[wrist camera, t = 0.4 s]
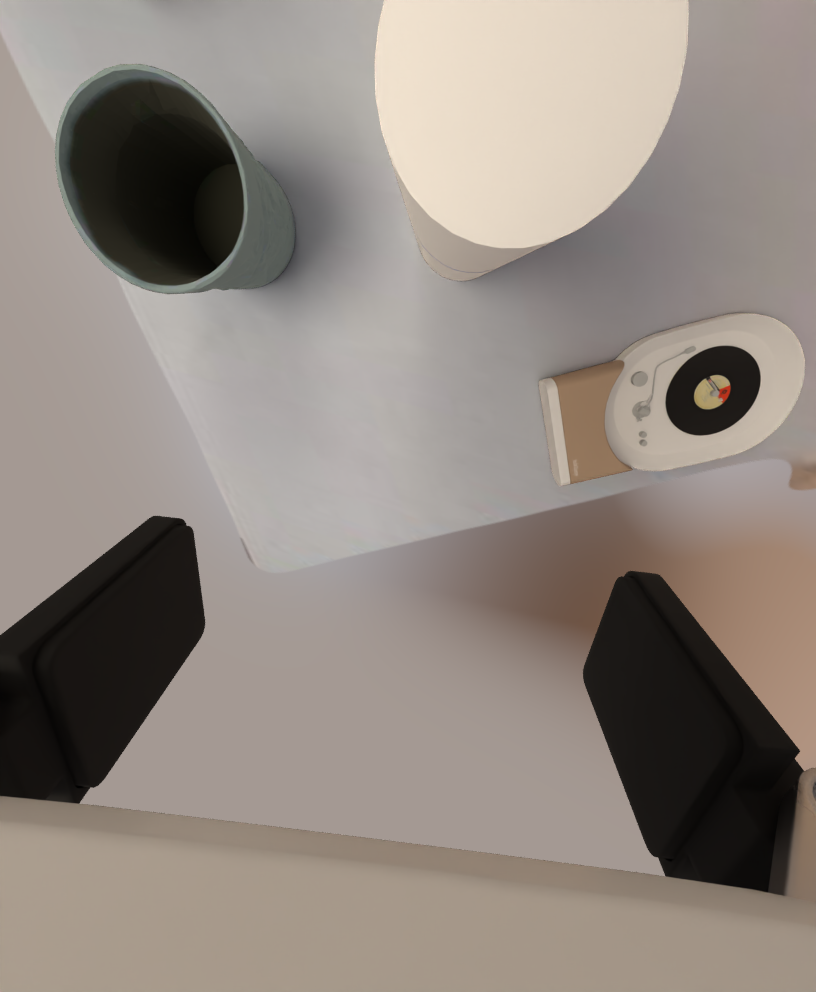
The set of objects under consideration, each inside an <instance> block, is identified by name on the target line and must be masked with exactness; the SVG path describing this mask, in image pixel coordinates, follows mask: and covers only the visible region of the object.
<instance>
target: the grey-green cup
mask: <svg viewBox="0 0 816 992" xmlns="http://www.w3.org/2000/svg"><path fill="white" fill-rule="evenodd" d="M55 159H56V172H57V177H58V184H59V188H60V191H61V194H62V198H63V201H64V204H65V207H66V209H67V211H68V214H69V216H70V218H71V220H72V222H73V224H74V226H75V228H76V229H77V231H78V233H79V234H80V236H81V237H82V239H83V240H84V242H85V243H86V245H87V246H88V247H89V249H90V250H91V251H92V252H93V253H94V254H95V255H96V256H97V257H98V258H99V260H101V262H102V263H103V264H104V265H105V266H107V267H108V268H109V269H110V270H112V271H113V272H114V273H115V274H117V275H118V276H120V277H121V278H123V279H125V280H126V281H128V282H130V283H131V284H134V285H136V286H138V287H141V288H143V289H146V290H149V291H152V292H157V293H164V294H184V293H196V292H204V291H208V290H211V289H220V290H228V289H249V288H257V287H261V286H264V285H266V284H268V283H270V282H272V281H273V280H275V279H276V278H277V277H278V276H279V275H280V274H281V273H282V272H283V271H284V269H285V268H286V266H287V265H288V263H289V261H290V259H291V256H292V253H293V249H294V244H295V222H294V217H293V213H292V209H291V207H290V204H289V201H288V199H287V197H286V195H285V193H284V192H283V190H282V188H281V187H280V185H279V184H278V183H277V181H276V180H275V179H274V178H273V177H272V175H271V174H270V173H269V172H268V171H267V170H266V169H265V168H264V167H263V165H262V164H261V163H260V162H259V161H256V160H255V159H254V157H253V155H252V154H251V152H250V151H249V150H248V149H247V147H246V146H245V145H244V143H243V141H242V140H241V139H240V138H239V137H238V136H237V135H236V134H235V133H234V131H233V130H232V129H231V128H230V126H229V125H228V124H227V123H226V121H225V120H224V119H223V118H222V116H221V115H220V114H219V113H218V111H217V110H216V109H215V108H214V106H213V105H212V104H211V103H210V102H209V101H208V100H207V99H206V98H205V97H204V96H203V95H202V94H201V93H200V92H199V91H198V90H197V89H195V88H194V87H193V86H191V85H190V84H189V83H187V82H186V81H185V80H183V79H181V78H179V77H177V76H175V75H173V74H172V73H169V72H167V71H164V70H161V69H158V68H155V67H152V66H148V65H143V64H120V65H116V66H113V67H109V68H106V69H104V70H102V71H101V72H99V73H98V74H96V75H94V76H93V77H91V78H90V79H88V80H87V81H85V82H84V83H82V84H81V85H80V86H79V87H78V89H77V90H76V91H75V93H74V94H73V95H72V97H71V98H70V99H69V100H68V102H67V104H66V106H65V109H64V111H63V113H62V115H61V118H60V122H59V126H58V130H57V134H56V146H55Z"/></svg>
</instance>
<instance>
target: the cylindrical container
mask: <svg viewBox="0 0 816 992" xmlns="http://www.w3.org/2000/svg"><path fill="white" fill-rule="evenodd" d="M688 19H689V3H688V0H384V4H383V8H382V12H381V16H380V20H379V24H378V33H377V43H376V52H375V93H376V102H377V108H378V113H379V119H380V124H381V130H382V134H383V137H384V140H385V143H386V147H387V150H388V153H389V156H390V159H391V162H392V165H393V168H394V172H395V175H396V178H397V181H398V184H399V187H400V190H401V193H402V196H403V200H404V203H405V206H406V209H407V212H408V215H409V218H410V221H411V224H412V227H413V230H414V233H415V237H416V240H417V243H418V246H419V248H420V251H421V254H422V256H423V258H424V259H425V261H426V263H427V264H428V265H429V266H430V267H431V268H432V269H433V271H435V272H436V273H438V274H439V275H440V276H442V277H445V278H447V279H450V280H455V281H467V280H472V279H475V278H477V277H480V276H482V275H484V274H486V273H488V272H490V271H493V270H495V269H497V268H499V267H501V266H503V265H505V264H507V263H509V262H511V261H514V260H516V259H518V258H520V257H522V256H524V255H526V254H528V253H530V252H532V251H535V250H537V249H539V248H541V247H543V246H545V245H547V244H549V243H551V242H553V241H555V240H558V239H560V238H562V237H564V236H566V235H568V234H570V233H572V232H574V231H576V230H578V229H580V228H581V227H583V226H584V225H585V224H587V223H588V222H590V221H591V220H592V219H594V218H595V217H597V216H598V215H599V214H601V213H602V212H604V211H605V210H606V209H607V208H608V207H609V206H610V205H611V204H612V203H613V202H614V201H615V200H616V199H617V198H618V197H619V196H620V195H621V194H622V193H623V192H624V191H625V190H626V189H627V188H628V187H629V186H630V184H631V183H632V181H633V180H634V179H635V177H636V176H637V174H638V173H639V171H640V170H641V169H642V167H643V166H644V164H645V163H646V161H647V160H648V159H649V157H650V156H651V154H652V152H653V150H654V148H655V146H656V144H657V142H658V140H659V138H660V136H661V134H662V132H663V130H664V128H665V126H666V124H667V122H668V120H669V117H670V114H671V111H672V108H673V105H674V102H675V99H676V96H677V93H678V90H679V87H680V83H681V78H682V72H683V67H684V62H685V57H686V52H687V40H688Z"/></svg>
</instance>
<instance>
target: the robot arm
mask: <svg viewBox="0 0 816 992" xmlns="http://www.w3.org/2000/svg"><path fill="white" fill-rule="evenodd" d="M196 556H197V555H196V548H195V540H194V533H193V530H192V528H191V527H190V526H186V523H185V521H184V520H183V519H180V518H171V517H162V516H153V517H151V518H149V519H148V520H147V521H145V522H144V523H143V524H142V525H141V526H139V527H138V528H137V529H135V530H134V531H133V532H132V533H130V534H129V535H128V536H126V537H125V538H124V539H122V540H121V541H120V542H119V543H118V544H116V545H115V546H114V547H112V548H111V549H110V550H109V551H107V552H106V553H105V554H103V555H102V556H101V557H100V558H98V559H97V560H96V561H95V562H93V563H92V564H91V565H89V566H88V567H87V568H86V569H84V570H83V571H82V572H80V573H79V574H78V575H77V576H75V577H74V578H73V579H72V580H70V581H69V582H68V583H66V584H65V585H64V586H63V587H61V588H60V589H59V590H57V591H56V592H55V593H54V594H53V595H51V596H50V597H49V598H47V599H46V600H45V601H43V602H42V603H41V604H40V605H38V606H37V607H36V608H34V609H33V610H32V611H31V612H29V613H28V614H27V615H26V616H24V617H23V618H22V619H21V620H19V621H18V622H17V623H15V624H14V625H13V626H12V627H10V628H9V629H8V630H6V631H5V632H4V633H3V634H1V635H0V992H816V768H811V769H808V770H806V771H804V770H803V769H802V768H801V766H800V765H799V764H798V762H796V760H795V757H796V756H797V754H798V753H799V752H800V751H799V749H798V748H797V746H796V745H795V744H794V743H793V741H792V740H791V739H790V738H789V736H788V735H787V734H786V733H785V731H784V730H783V729H782V728H781V726H780V725H779V724H778V722H777V721H776V720H775V719H774V718H773V716H772V715H771V714H770V712H769V711H768V710H767V709H766V707H765V706H764V705H763V704H762V702H761V701H760V700H759V699H758V697H757V696H756V695H755V694H754V692H753V691H752V690H751V689H750V687H749V686H748V685H747V684H746V682H745V681H744V680H743V679H742V677H741V676H740V675H739V674H738V672H737V671H736V670H735V668H734V667H733V666H732V665H731V663H730V662H729V661H728V660H727V658H726V657H725V656H724V655H723V653H722V652H721V651H720V650H719V649H718V647H717V646H716V645H715V643H714V642H713V641H712V640H711V639H710V637H709V636H708V635H707V633H706V632H705V631H704V630H703V628H702V627H701V626H700V625H699V623H698V622H697V621H696V619H695V618H694V617H693V616H692V614H691V613H690V612H689V611H688V610H687V608H686V607H685V606H684V604H683V603H682V602H681V601H680V599H679V598H678V597H677V596H676V594H675V593H674V592H673V591H672V589H671V588H670V587H669V586H668V584H667V583H666V582H665V581H664V579H663V578H662V577H661V576H660V575H658V574H652V573H644V572H635V571H629V572H627V573H626V574H625V576H624V577H619V578H618V579H617V580H616V582H615V584H614V587H613V590H612V592H611V596H610V598H609V600H608V603H607V606H606V609H605V611H604V614H603V617H602V619H601V622H600V625H599V627H598V630H597V633H596V635H595V638H594V641H593V644H592V646H591V649H590V652H589V654H588V657H587V660H586V662H585V665H584V669H583V679H584V683H585V686H586V689H587V692H588V694H589V697H590V700H591V702H592V705H593V707H594V710H595V712H596V715H597V718H598V721H599V723H600V726H601V728H602V731H603V734H604V736H605V739H606V742H607V744H608V747H609V749H610V752H611V755H612V757H613V760H614V763H615V765H616V768H617V770H618V773H619V776H620V778H621V781H622V783H623V786H624V789H625V792H626V794H627V797H628V799H629V802H630V805H631V807H632V810H633V812H634V815H635V818H636V820H637V823H638V825H639V828H640V831H641V833H642V836H643V839H644V841H645V844H646V846H647V848H648V850H649V852H650V853H651V854H652V855H653V856H654V857H658V858H659V861H660V863H661V866H662V868H663V871H664V873H665V876H666V877H665V876H659V875H651V874H645V873H638V872H630V871H623V870H614V869H607V868H599V867H592V866H584V865H576V864H569V863H560V862H553V861H545V860H538V859H530V858H522V857H514V856H507V855H499V854H492V853H483V852H476V851H468V850H460V849H452V848H444V847H436V846H428V845H420V844H412V843H404V842H396V841H388V840H380V839H372V838H364V837H356V836H348V835H339V834H331V833H323V832H315V831H307V830H299V829H291V828H282V827H274V826H266V825H258V824H249V823H241V822H233V821H224V820H215V819H207V818H199V817H190V816H182V815H173V814H165V813H156V812H148V811H139V810H131V809H122V808H114V807H105V806H97V805H86V804H79V803H80V801H81V800H82V799H83V797H84V796H85V794H86V793H87V791H88V790H89V789H90V787H93V788H94V787H96V786H98V785H99V784H100V783H101V782H102V781H103V780H104V779H105V777H106V776H107V774H108V773H109V771H110V770H111V768H112V767H113V766H114V764H115V762H116V761H117V760H118V758H119V757H120V755H121V754H122V752H123V751H124V749H125V748H126V747H127V745H128V743H129V742H130V741H131V739H132V738H133V736H134V735H135V733H136V732H137V730H138V729H139V728H140V726H141V725H142V723H143V722H144V720H145V719H146V717H147V716H148V714H149V713H150V711H151V710H152V708H153V707H154V706H155V704H156V703H157V701H158V700H159V698H160V697H161V695H162V694H163V692H164V691H165V690H166V688H167V687H168V685H169V684H170V682H171V681H172V679H173V678H174V676H175V675H176V673H177V672H178V670H179V669H180V668H181V666H182V665H183V663H184V662H185V660H186V659H187V657H188V656H189V654H190V653H191V651H192V650H193V648H194V647H195V646H196V644H197V643H198V641H199V640H200V638H201V636H202V634H203V632H204V628H205V617H204V609H203V601H202V593H201V586H200V578H199V571H198V563H197V557H196Z"/></svg>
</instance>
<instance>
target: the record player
mask: <svg viewBox="0 0 816 992" xmlns="http://www.w3.org/2000/svg"><path fill="white" fill-rule="evenodd" d="M804 375H805V358H804V353H803V349H802V346H801V344H800V342H799V340H798V338H797V337H796V335H795V334H794V333H793V331H792V330H791V329H790V328H789V327H788V326H786V325H785V324H784V323H782V322H781V321H779V320H777V319H775V318H772V317H769V316H766V315H761V314H748V313H734V314H727V315H722V316H718V317H714V318H710V319H706V320H702V321H698V322H694V323H690V324H687V325H683V326H680V327H676V328H672V329H669V330H665V331H662V332H659V333H656V334H653V335H650V336H647V337H645V338H642V339H640V340H639V341H637V342H635V343H634V344H632V345H631V346H629V347H628V348H627V349H626V350H624V351H623V352H622V353H621V354H620V355H619V356H618V357H617V358H616V359H615V360H614V361H611V362H608V363H604V364H600V365H596V366H592V367H589V368H585V369H581V370H577V371H574V372H570V373H566V374H562V375H558V376H555V377H551V378H547V379H543V380H540V381H539V391H540V398H541V404H542V411H543V417H544V424H545V430H546V437H547V443H548V450H549V456H550V462H551V469H552V474H553V476H554V479H555V481H556V482H557V484H558V485H559V486H564V485H569V484H573V483H578V482H582V481H586V480H591V479H595V478H600V477H604V476H609V475H613V474H617V473H622V472H626V471H631V470H632V468H631V467H633V468H636V469H640V470H645V471H664V470H670V469H675V468H680V467H685V466H689V465H694V464H699V463H703V462H707V461H712V460H716V459H720V458H724V457H728V456H732V455H735V454H738V453H741V452H744V451H746V450H748V449H750V448H752V447H754V446H755V445H757V444H758V443H760V442H761V441H763V440H764V439H766V438H767V437H768V436H769V435H770V434H772V433H773V432H774V431H775V430H776V429H777V428H778V427H779V426H780V425H781V424H782V422H783V421H784V420H785V419H786V417H787V416H788V415H789V413H790V412H791V410H792V409H793V407H794V405H795V403H796V401H797V399H798V397H799V394H800V392H801V389H802V385H803V381H804Z"/></svg>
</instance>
